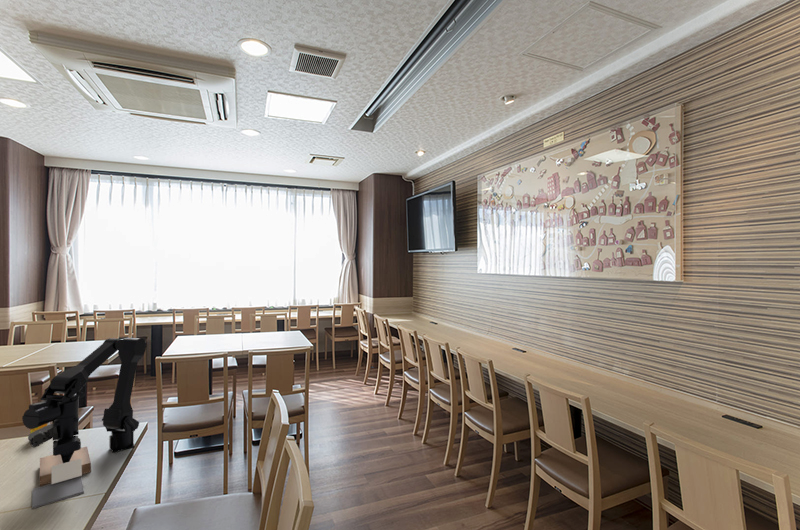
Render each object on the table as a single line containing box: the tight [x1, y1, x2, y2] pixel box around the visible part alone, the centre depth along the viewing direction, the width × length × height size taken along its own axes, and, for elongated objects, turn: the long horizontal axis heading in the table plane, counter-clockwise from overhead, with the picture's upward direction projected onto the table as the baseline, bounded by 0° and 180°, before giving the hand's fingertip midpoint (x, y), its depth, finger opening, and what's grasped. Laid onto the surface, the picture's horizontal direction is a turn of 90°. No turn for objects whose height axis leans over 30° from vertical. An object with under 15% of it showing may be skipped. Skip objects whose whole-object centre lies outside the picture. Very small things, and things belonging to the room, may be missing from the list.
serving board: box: [39, 446, 92, 487], centre depth 124 cm, size 12×14×3 cm
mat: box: [31, 476, 85, 510], centre depth 113 cm, size 11×11×1 cm
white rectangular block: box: [50, 459, 83, 484], centre depth 118 cm, size 7×5×2 cm
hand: (65, 464), depth 120 cm, fingers closed
